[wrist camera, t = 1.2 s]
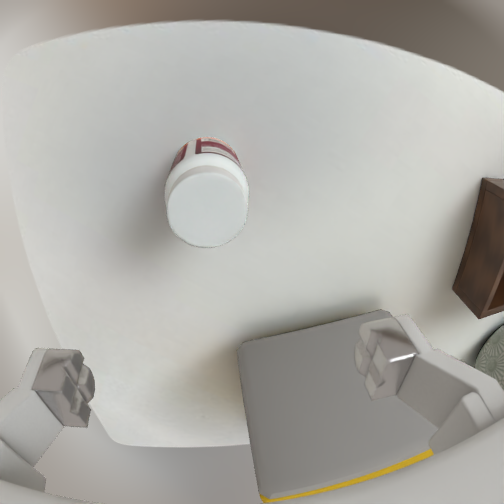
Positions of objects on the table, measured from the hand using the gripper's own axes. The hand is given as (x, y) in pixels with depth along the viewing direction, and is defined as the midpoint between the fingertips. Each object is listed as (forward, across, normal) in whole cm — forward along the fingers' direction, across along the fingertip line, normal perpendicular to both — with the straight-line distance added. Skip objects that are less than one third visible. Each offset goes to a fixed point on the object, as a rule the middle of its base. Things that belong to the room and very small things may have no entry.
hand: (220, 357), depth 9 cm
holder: (+17, -34, +7) cm, 38 cm away
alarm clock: (+17, -10, +23) cm, 30 cm away
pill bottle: (+17, 0, -1) cm, 17 cm away
